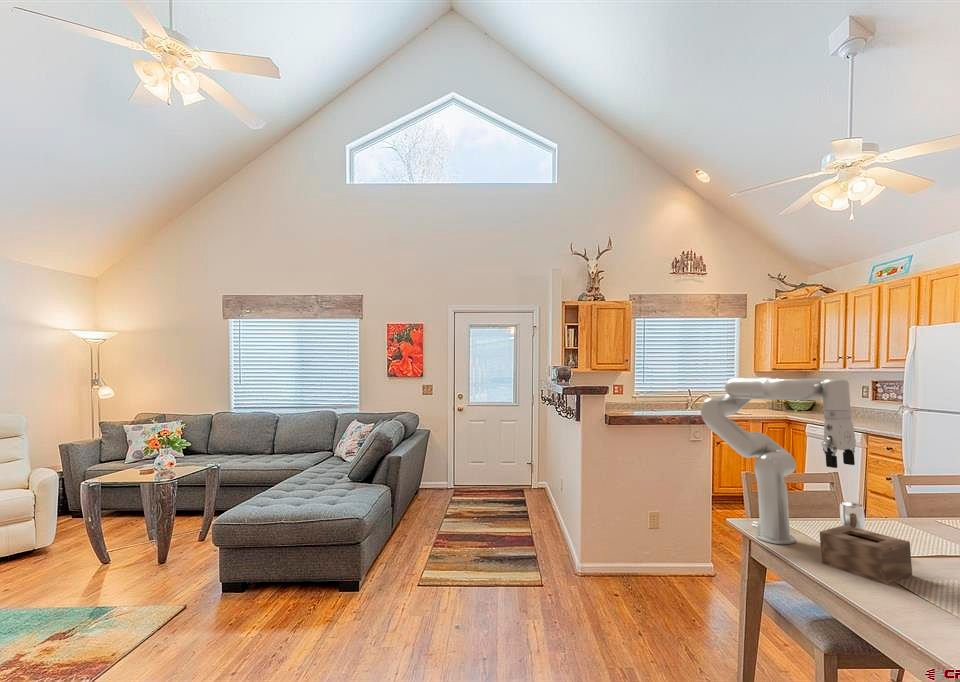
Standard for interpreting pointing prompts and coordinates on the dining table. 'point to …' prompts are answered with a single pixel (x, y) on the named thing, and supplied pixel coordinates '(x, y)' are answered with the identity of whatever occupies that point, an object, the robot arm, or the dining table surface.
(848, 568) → the coin box
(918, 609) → the dining table surface
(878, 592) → the dining table surface
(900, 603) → the dining table surface
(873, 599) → the dining table surface
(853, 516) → the beer glass
